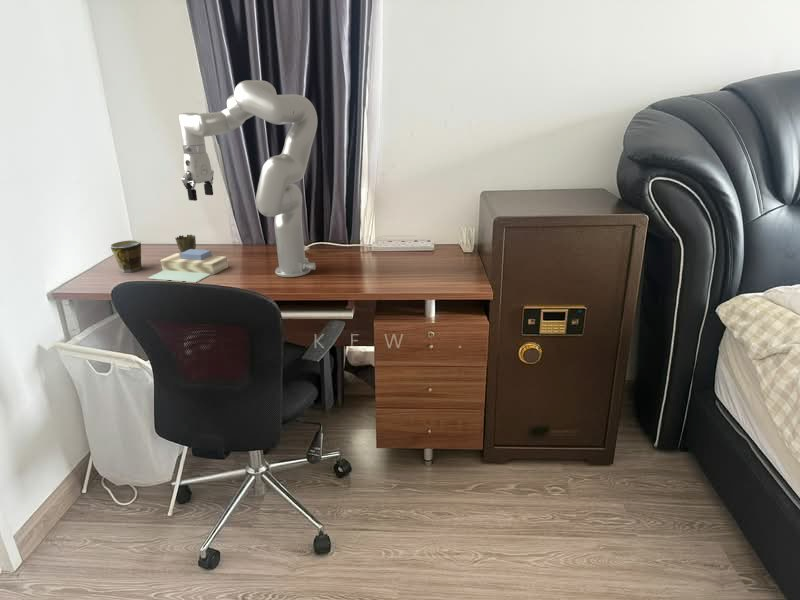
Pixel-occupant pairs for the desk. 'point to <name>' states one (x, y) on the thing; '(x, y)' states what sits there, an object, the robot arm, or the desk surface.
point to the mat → (179, 276)
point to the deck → (194, 264)
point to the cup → (186, 242)
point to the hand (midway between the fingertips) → (201, 197)
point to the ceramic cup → (127, 255)
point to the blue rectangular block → (195, 254)
